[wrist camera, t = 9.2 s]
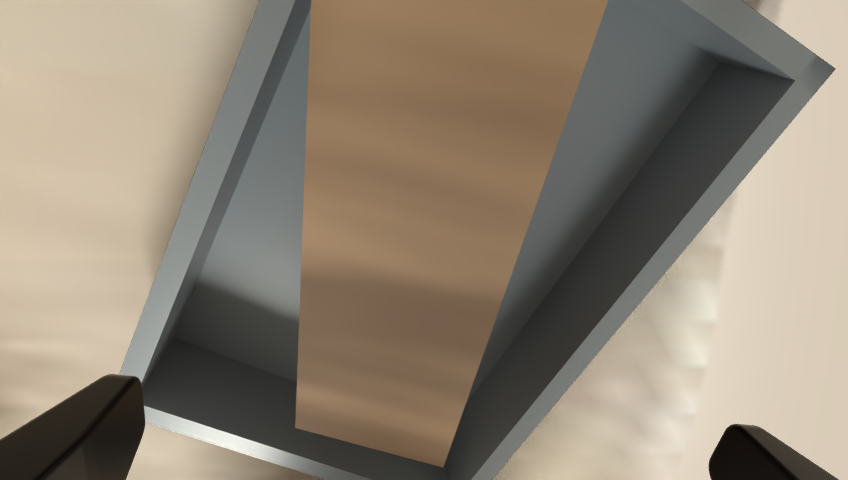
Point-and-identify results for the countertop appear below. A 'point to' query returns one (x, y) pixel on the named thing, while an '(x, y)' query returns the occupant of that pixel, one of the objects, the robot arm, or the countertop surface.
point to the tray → (539, 255)
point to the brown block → (421, 200)
